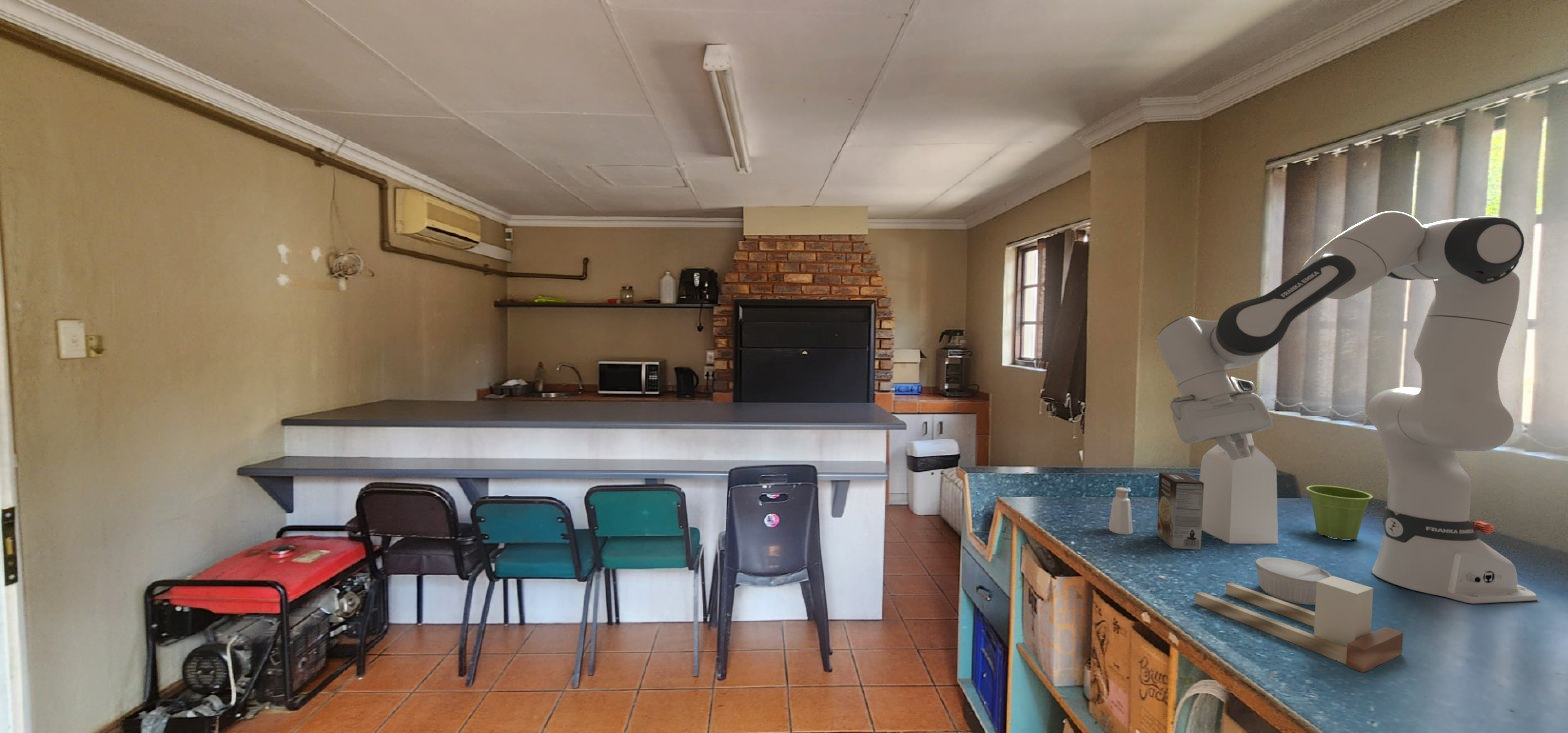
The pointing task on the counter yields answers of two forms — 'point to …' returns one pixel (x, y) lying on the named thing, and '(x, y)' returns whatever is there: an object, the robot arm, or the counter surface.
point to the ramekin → (1289, 579)
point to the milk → (1240, 496)
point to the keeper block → (1342, 610)
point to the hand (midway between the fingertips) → (1241, 458)
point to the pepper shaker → (1121, 513)
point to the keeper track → (1355, 655)
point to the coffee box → (1180, 510)
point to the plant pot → (1338, 510)
